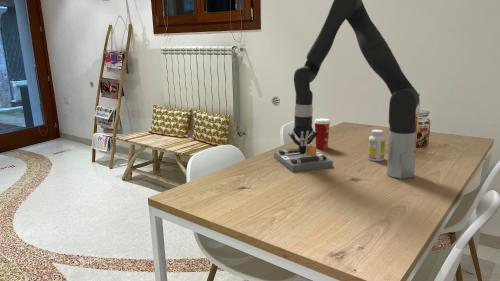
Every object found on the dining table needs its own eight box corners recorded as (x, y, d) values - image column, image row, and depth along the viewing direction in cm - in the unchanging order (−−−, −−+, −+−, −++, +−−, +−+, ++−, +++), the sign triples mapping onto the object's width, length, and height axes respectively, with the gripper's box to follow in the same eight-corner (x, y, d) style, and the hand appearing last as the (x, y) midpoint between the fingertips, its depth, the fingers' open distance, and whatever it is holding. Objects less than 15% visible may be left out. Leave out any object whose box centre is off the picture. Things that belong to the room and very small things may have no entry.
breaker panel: (332, 166, 161) (332, 159, 160) (292, 171, 156) (292, 164, 155) (310, 152, 181) (310, 146, 181) (274, 157, 177) (273, 150, 176)
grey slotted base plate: (326, 165, 163) (326, 156, 162) (293, 169, 159) (293, 160, 158) (309, 154, 179) (309, 146, 178) (279, 158, 175) (279, 150, 174)
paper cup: (331, 149, 186) (331, 121, 182) (315, 150, 186) (315, 121, 182) (328, 145, 193) (328, 117, 190) (312, 145, 193) (313, 118, 190)
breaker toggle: (316, 156, 167) (316, 144, 166) (309, 156, 167) (309, 145, 165) (311, 153, 172) (311, 141, 171) (305, 153, 171) (305, 142, 170)
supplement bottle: (382, 157, 172) (383, 128, 168) (385, 161, 165) (387, 132, 162) (366, 157, 172) (367, 129, 169) (369, 161, 166) (370, 132, 163)
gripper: (292, 117, 158) (291, 157, 163) (321, 115, 162) (319, 154, 166) (285, 113, 165) (284, 152, 170) (313, 112, 169) (312, 150, 173)
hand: (302, 153), depth 168 cm, fingers closed
